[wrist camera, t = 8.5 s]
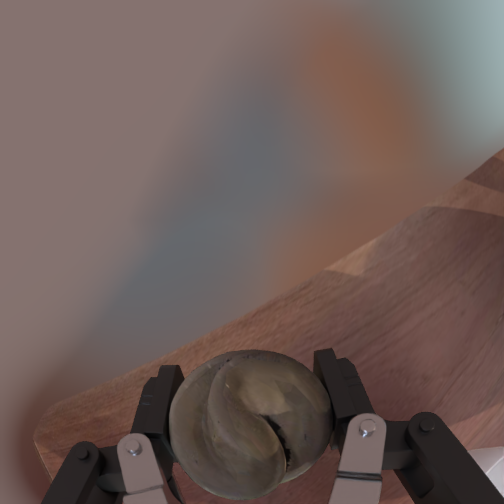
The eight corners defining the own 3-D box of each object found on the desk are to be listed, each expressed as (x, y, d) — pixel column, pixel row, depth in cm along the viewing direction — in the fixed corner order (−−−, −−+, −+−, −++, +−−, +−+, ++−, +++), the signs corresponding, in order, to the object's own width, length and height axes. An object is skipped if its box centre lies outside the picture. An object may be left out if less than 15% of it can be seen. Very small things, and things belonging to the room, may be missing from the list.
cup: (404, 519, 20) (455, 564, 8) (389, 460, 24) (449, 497, 12) (470, 476, 21) (534, 497, 9) (459, 417, 25) (534, 424, 12)
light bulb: (256, 441, 19) (240, 541, 6) (208, 392, 21) (116, 419, 7) (310, 393, 21) (382, 426, 7) (261, 344, 22) (252, 301, 9)
